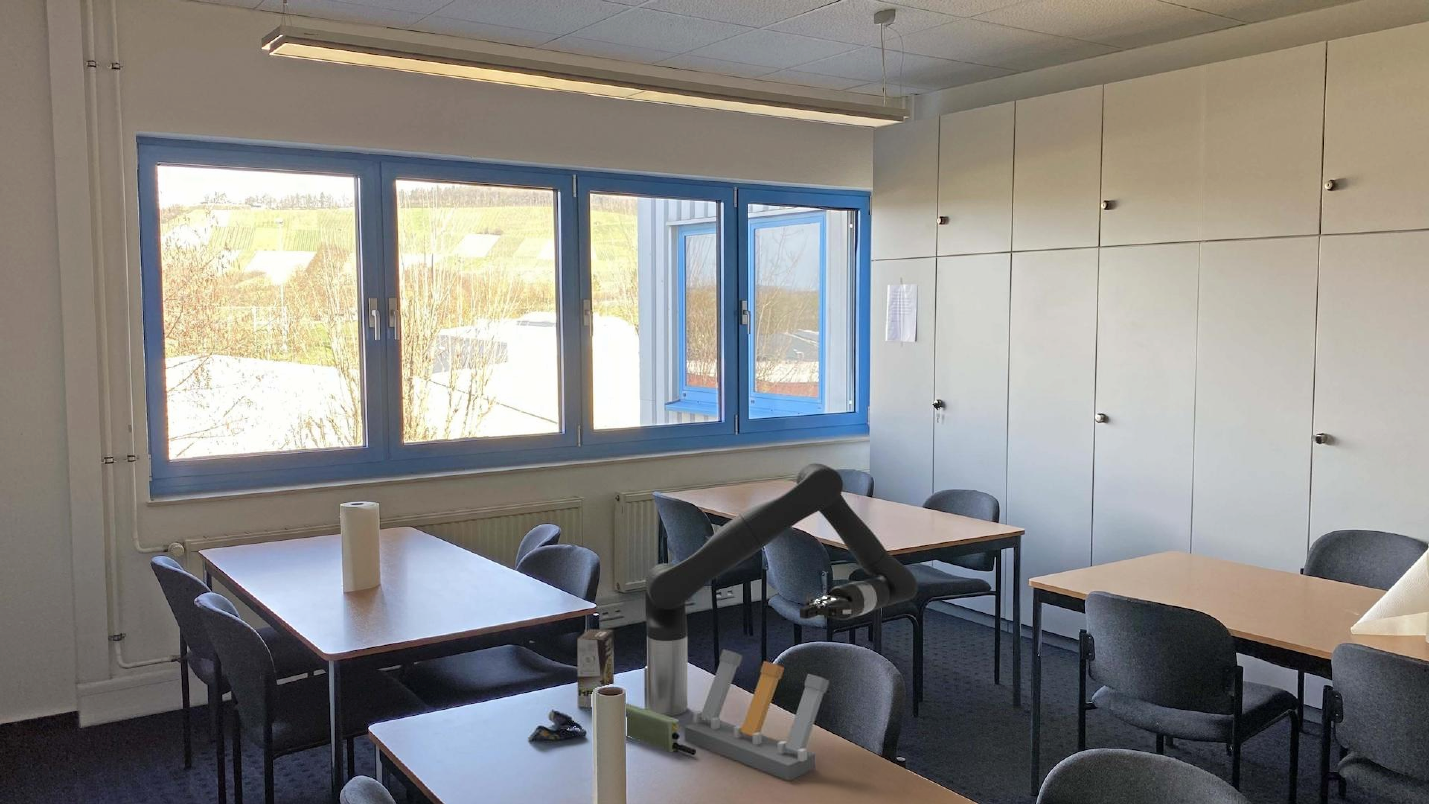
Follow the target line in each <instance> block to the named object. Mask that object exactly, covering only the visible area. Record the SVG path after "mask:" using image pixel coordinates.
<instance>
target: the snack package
mask: <svg viewBox="0 0 1429 804" xmlns="http://www.w3.org/2000/svg"><path fill="white" fill-rule="evenodd" d="M548 719H549V721H551V723H553V725H551V726H548V727H546V726H544V725H538V726H537V727H536V728H535V729H534V732H532V733H531V735H529V737H527V739H528V740H529V742H532V741H533V740H562V739H569V738H571V737H574V736H581V737H586V735H587V730H586V729H584V728H583V727H582V726H581V724H580V723H578V722H575V720H573V718H572V716H569V715H568V714H566V713H564V712H560V711H559V710H554V709H553V708H552V709H551V711H550V712H549V713H548ZM574 726H576V727H574ZM573 727H574V728H573ZM568 728H569V730H567V729H568ZM575 728H579V729H580V731H579V730H578V729H575Z"/></svg>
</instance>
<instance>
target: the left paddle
mask: <svg viewBox="0 0 1429 804" xmlns="http://www.w3.org/2000/svg"><path fill="white" fill-rule="evenodd" d="M742 659H743V655H741V654H739V653H737V652H735V651H731V650H728V649H724V648H723V650H722V651H721V655H720V657H719V661H720V662H719V664H718V667H717V670H716V673H715V675H714V678H713V681H712V684H711V687H710V689H709V692H708V694H707V697H706V700H705V703H704V704H703V708H702V710H701V712H702V713H701V716H700V717H701V718H702V720H705V719H706V720H709V721H711V719H712V718H715V717H717V718H720V714H721V712H722V709H723V706H724V704H725V701H726V699H727V696H728V692H729V691H730V687H731V685H732V682H733V679H734V677H735V673H736V672H737V668H738V667H740V665H741V662H742Z"/></svg>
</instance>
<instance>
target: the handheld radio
mask: <svg viewBox="0 0 1429 804" xmlns="http://www.w3.org/2000/svg"><path fill="white" fill-rule="evenodd" d="M625 703H626V717H627V736H626V738H627V737H628V736H630V737H632V738H634V739H633V740H635V739H636V741H638V740H640V741H639V742H641V741H643V742H642V743H644V742H645V743H644V744H647V743H648V744H647V745H649V744H650V746H652V745H653V746H652V747H655V746H656V747H655V748H658V747H659V748H658V749H661V748H662V750H664V751H667V752H670V751H672V752H674V750H675V751H680V752H682V753H686V754H688V755H691V756H695V755H696V754H697V749H695V748H693V747H690V746H687V745H684V744H680V743H678V740H679V738H680V734H679V733H678V730H679V729H680V728H679V725H678V722H680V719H677V718H674V717H672V716H665V715H662V714H659V713H656V712H652V711H649V710H647V708H643V707H639V706H636V705H634V704H630V703H627V702H625ZM630 737H628V738H630ZM632 738H631V739H632Z"/></svg>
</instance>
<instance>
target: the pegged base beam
mask: <svg viewBox="0 0 1429 804" xmlns="http://www.w3.org/2000/svg"><path fill="white" fill-rule="evenodd" d="M701 713H702V710H701V711H700V710H698V711H696V712H693V723H691V724H689V725H686V726H684V741H685V742H687V743H690V744H693V745H695V746H698V747H701V748H703V749H706V750H708V751H711V752H713V753H716V754H719V755H721V756H724V757H727V758H729V759H732V760H733V761H734V760H735V761H737V762H738V763H741V764H744V765H747V766H749V767H753V768H755V769H757V770H759V771H762V772H765V773H767V774H771V775H772V776H776V777H777V778H781V779H783V780H785V781H788V782H789V781H791V780H793V779H796V778H798V777H800V776H803V775H805V774H807V773H809V772H811V771H814V770H816V753H813V752H811V751H808V749H807V748H802V749H799V750H798V753H797V752H795V751H792V750H789V749H787V748H785V745H786V742H787V741H785V740H782V741H780V740H777V739H773V737H768V736H766V735H763V734H762V732H756V733H754V734H753V736H750V735H747V734H745V733H743V732H741V730H742V727H743V725H734V724H732V723H730V722H726V721H724V720H720V717H719V718H717V717H715V718H712V719H711V721H709V720H706V719H703V718H701V717H700V716H701Z"/></svg>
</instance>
